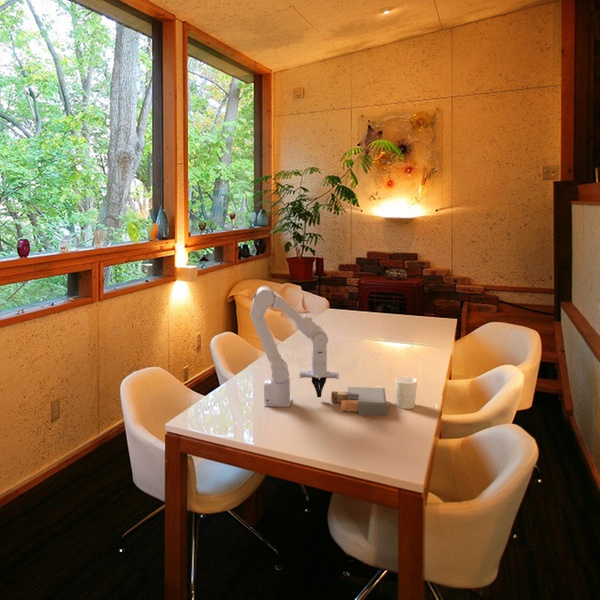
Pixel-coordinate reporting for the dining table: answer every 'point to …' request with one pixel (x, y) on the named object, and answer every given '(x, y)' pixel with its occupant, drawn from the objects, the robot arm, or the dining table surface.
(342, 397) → the walnut knob
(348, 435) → the dining table surface
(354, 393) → the box
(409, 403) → the white cup
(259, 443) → the dining table surface
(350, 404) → the orange knob
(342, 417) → the dining table surface
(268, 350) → the robot arm
